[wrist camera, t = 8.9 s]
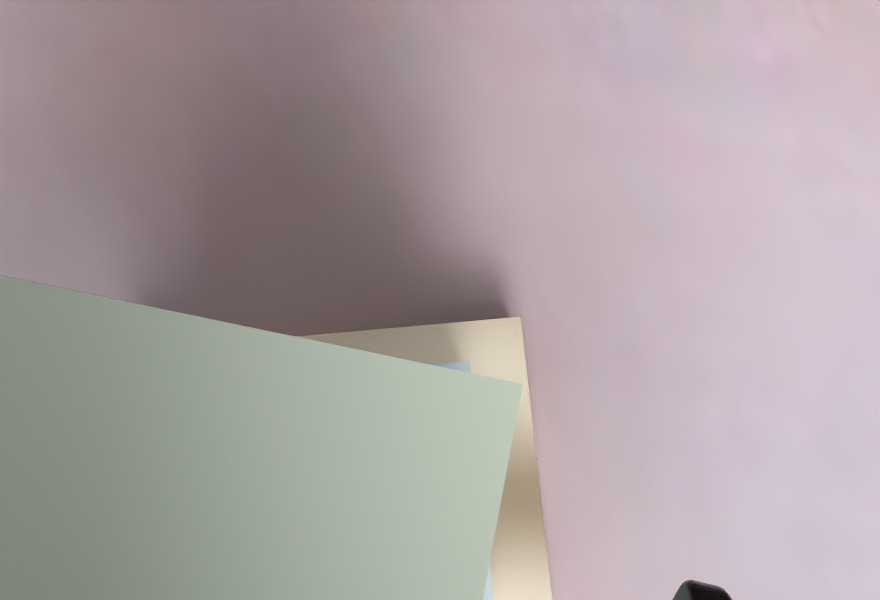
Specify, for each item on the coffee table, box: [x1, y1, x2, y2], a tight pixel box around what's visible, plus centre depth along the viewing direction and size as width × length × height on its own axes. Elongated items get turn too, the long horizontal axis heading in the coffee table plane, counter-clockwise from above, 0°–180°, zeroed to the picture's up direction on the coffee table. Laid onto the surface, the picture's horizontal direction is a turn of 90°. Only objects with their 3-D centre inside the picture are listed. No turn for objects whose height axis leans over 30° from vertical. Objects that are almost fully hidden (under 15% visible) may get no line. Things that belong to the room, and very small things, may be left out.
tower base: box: [295, 317, 552, 600], centre depth 21 cm, size 10×10×2 cm
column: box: [0, 275, 523, 600], centre depth 12 cm, size 5×5×12 cm
